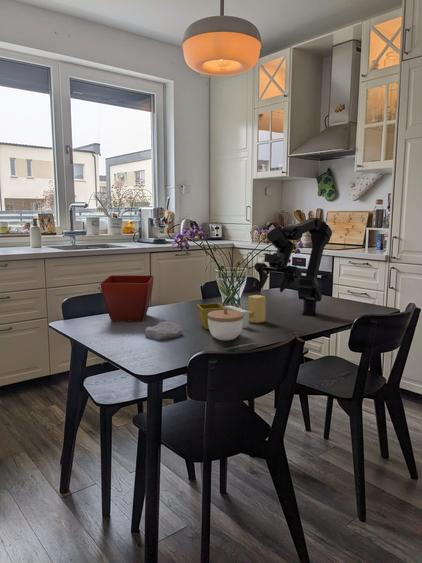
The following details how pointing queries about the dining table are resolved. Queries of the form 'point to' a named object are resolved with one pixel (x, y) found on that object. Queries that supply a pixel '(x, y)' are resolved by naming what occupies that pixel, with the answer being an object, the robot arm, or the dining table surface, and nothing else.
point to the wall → (245, 315)
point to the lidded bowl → (225, 324)
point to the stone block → (164, 330)
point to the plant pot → (127, 296)
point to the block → (256, 308)
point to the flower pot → (205, 309)
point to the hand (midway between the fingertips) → (270, 290)
